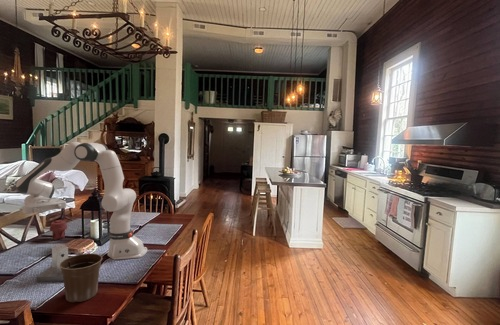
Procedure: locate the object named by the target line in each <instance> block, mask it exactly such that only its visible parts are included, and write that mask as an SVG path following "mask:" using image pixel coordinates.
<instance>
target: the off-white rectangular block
mask: <svg viewBox="0 0 500 325" xmlns="http://www.w3.org/2000/svg"><path fill="white" fill-rule="evenodd" d="M67 258H69V247H68V246H67V245H65V244H59V245H54V246H51V260H52V261H51V263H52V264H51V266H52V269H53V271H55V272H56V273H60V272H62V271H61V268H60V263H61V262H62V261H63V260H65V259H67Z"/></svg>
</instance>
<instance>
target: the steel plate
mask: <svg viewBox="0 0 500 325" xmlns="http://www.w3.org/2000/svg"><path fill="white" fill-rule="evenodd" d="M36 282H37V283H48V282H54V283H55V282H58V283H59V282H61V283H62V282H64V279H63V275H62V272H60V273H56V272H55V271H53V269H52V265H51V266H50V267H48V268H46V269H45V270H44V271H43V272H41V273H40V274H39V275H37V276H36Z"/></svg>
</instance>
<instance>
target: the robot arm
mask: <svg viewBox="0 0 500 325" xmlns="http://www.w3.org/2000/svg"><path fill="white" fill-rule="evenodd" d="M80 161H81V162H91V163H93V162H96V163H97V164H98V165H99V168H100V172H101V175H102V180H103V184H104V193H103V197H102V199H101V207H102V209H104V210H105V211H107V212H113V213H112V215H111V216H110V219H109V232H108V233H109V234H108V238H109V244H108V245H109V247H108V251H107V257H109V258H111V259H112V260H125V259H138V258H139V259H140V258H143V257H144V256H145V255H146V254H147V253H148V247H146V246H144V241H142V240H141V239H140V238H138V237H137V236H135V234H134V232H135V230H132V229H131V216H132V215H131V214H132V210H133V206H134V203H135V201H136V199H137V193H136V191H135V190H134V189H132V188H123V184H124V180H125V175H124V172H123V168H122V165H121V163H120V160H119V158H118V155H117V154H116V152H115V151H114V150H111V149H109V148H108V146H107V145H106V144H104V143H101V142H92V141H91V142H82V143H81V142H79V141H72V142H70V143H68V144H67V145H66V146H65V147H64V148H63V149H61V150H60V152H59V153H58V154H56V155H55V156H52V157H47V158H45V159H44V160H42V161H41V162H40V163H38V164H37V165H36V166H35V167H34V168H32V169H31V170H29V172H27V173H25V175H22V176H21V177H20V178H18V180H17V181H16V183H15V189H16V190H17V191H18V193H21V194H27V196H25V198H24V200H23V202H24V205H22V207H20V208H19V210H20V211H22V213H23V214H25V215H29V214H36V213H37V214H44V213H46V212H49V211H53V210H62V209H65V208H67V201H66V200H64V199H60V198H59V197H53V196H54V194H55V191H56V190H55V186H54V183H52V182H49V181H46V180H42V179H39V177H41V175H43V174H44V173H45V172H49V171H53V172H54V171H55V172H57V171H58V172H68V171H71V170H73V169H74V168H75V167H76V166H77V165H78V164H79V163H80Z"/></svg>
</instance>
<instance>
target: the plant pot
mask: <svg viewBox="0 0 500 325" xmlns="http://www.w3.org/2000/svg"><path fill="white" fill-rule="evenodd" d="M102 261H103V256H102V255H101V254H97V253H90V252H89V253H81V254H76V255H73V256H68V258H67V259H65V260H63V261H62V262H61V263H60V268H61V271H62V275H63V279H64V281H63V287H64V294H65V300H66V302H69V303H75V302H79V303H81V302H85V301H88V300H90V299H92V298H93V297H95V296H96V295H97V293H98V291H99V289H98V286H99V280H100V279H99V278H100V268H101V267H102V266H101V264H102Z"/></svg>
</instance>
